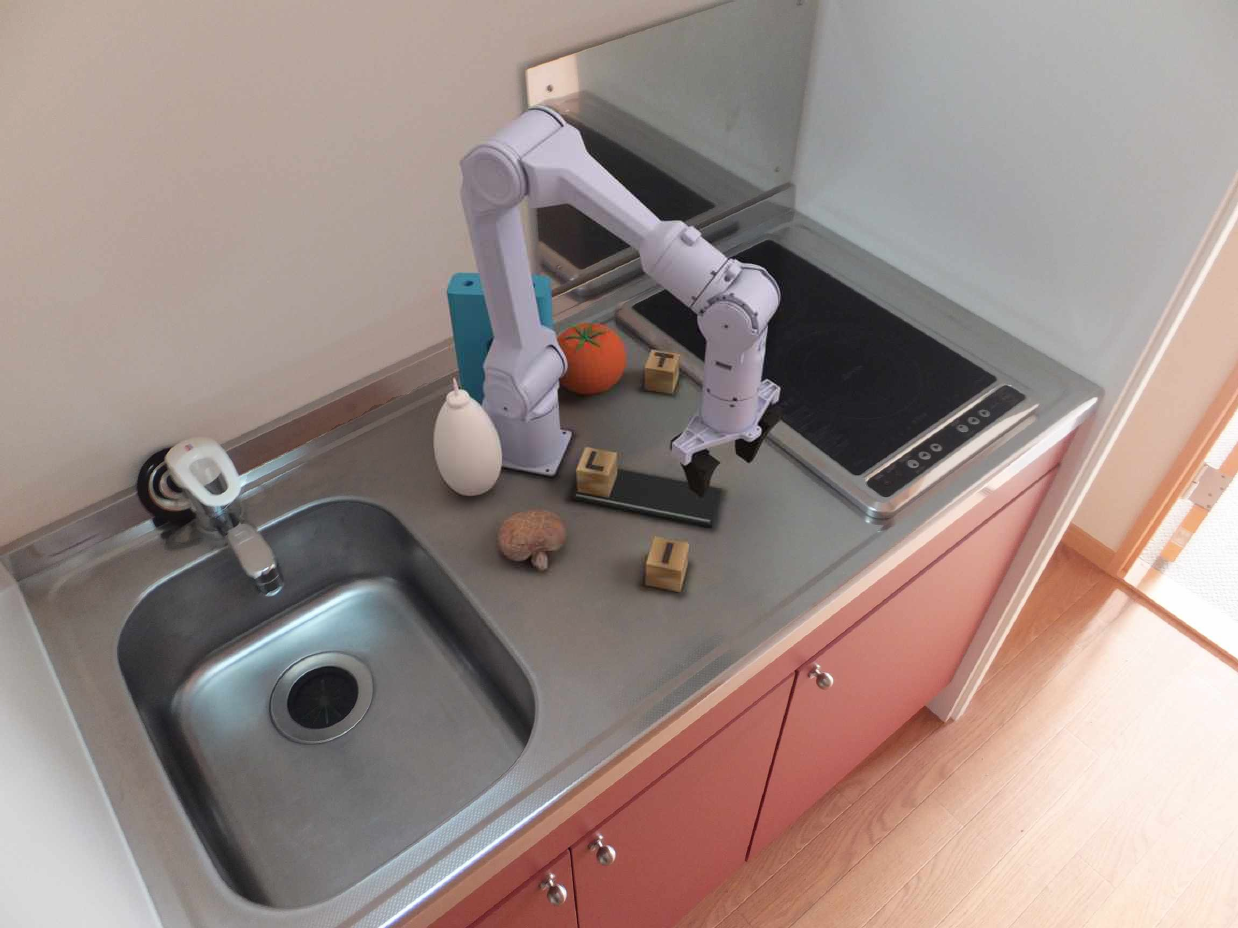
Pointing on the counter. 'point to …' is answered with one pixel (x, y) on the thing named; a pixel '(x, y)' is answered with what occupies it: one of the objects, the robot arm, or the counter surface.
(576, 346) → the tomato
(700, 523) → the black tile rack
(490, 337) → the block
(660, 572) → the tile
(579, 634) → the counter surface
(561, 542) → the mushroom
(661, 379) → the tile
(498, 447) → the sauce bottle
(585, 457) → the tile
